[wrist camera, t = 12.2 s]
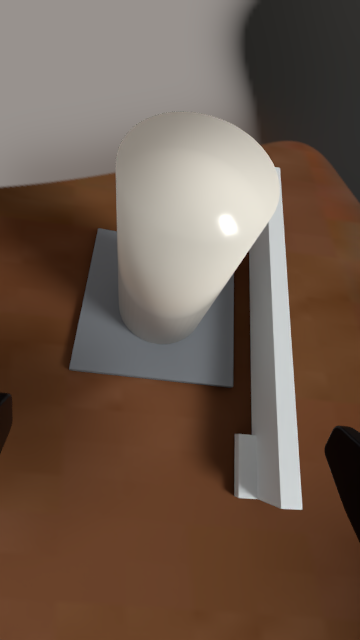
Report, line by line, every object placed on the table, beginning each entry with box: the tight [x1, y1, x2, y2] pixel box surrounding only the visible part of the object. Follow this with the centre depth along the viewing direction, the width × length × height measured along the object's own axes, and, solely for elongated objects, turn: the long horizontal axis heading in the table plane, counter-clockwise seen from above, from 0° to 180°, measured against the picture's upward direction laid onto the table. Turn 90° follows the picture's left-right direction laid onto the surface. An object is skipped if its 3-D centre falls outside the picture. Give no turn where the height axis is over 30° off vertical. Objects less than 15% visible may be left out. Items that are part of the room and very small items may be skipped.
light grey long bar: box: [234, 167, 302, 510], centre depth 19 cm, size 20×3×3 cm, turn 176°
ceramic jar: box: [116, 111, 280, 344], centre depth 14 cm, size 5×5×10 cm
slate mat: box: [69, 228, 234, 388], centre depth 19 cm, size 9×9×1 cm
